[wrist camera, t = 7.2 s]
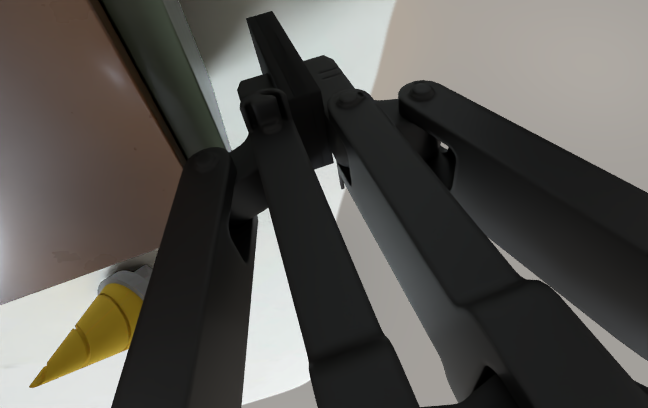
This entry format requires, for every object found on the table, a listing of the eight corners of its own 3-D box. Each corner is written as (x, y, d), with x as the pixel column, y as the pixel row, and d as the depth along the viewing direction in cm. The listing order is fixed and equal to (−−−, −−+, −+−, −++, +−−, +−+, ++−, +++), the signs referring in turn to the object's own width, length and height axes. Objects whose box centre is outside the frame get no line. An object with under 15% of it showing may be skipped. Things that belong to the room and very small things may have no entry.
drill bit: (153, 305, 30) (21, 411, 22) (133, 246, 28) (-22, 338, 20) (206, 316, 28) (81, 438, 19) (188, 253, 26) (40, 358, 17)
